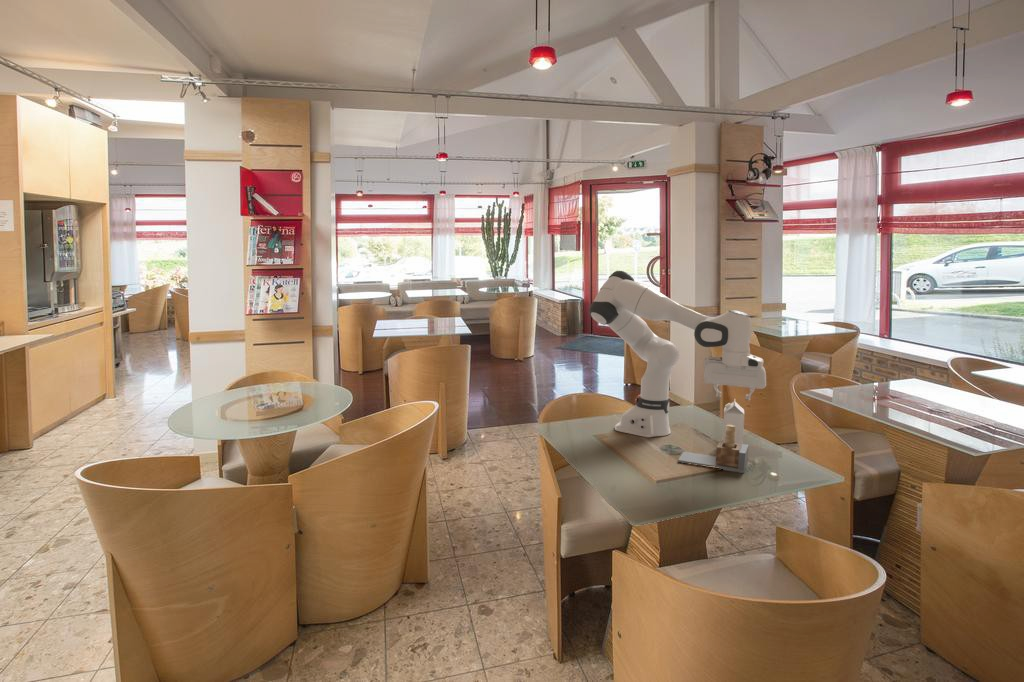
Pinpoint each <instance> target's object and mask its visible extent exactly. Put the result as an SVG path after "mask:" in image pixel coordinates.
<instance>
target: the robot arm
mask: <svg viewBox="0 0 1024 682" xmlns="http://www.w3.org/2000/svg"><path fill="white" fill-rule="evenodd" d="M599 288H600V289H599V291H598V292H597V294H596V295H595V298H594V300H593V301H592V302H591V304H590V307H589V309H588V313H589V316H590V318H592V319H593V320H594V321H595V322H596V323H599V324H600V325H603V326H608V328H610V329H611V330H612V331H613V332H614V333H615V334H616V335H617V336H618V337H620V338H621V339H622V340H623V341H624V342H625V343H626V344H627V345H628V346H629V347H630V348H631V350H633V352H634V353H635V354H636V355H637V356H638V357H639V358H640V359H641V360H642V361H644V362H646V363H647V364H646V369H645V372H644V374H643V375H642V376H641V380H640V394H638V395H636V398H635V399H634V403H635V405H633V406H632V407H630V408H629V409H627V410H626V411H624V412H623V414H622V415H621V418H620V421H619V422H617V423H616V424H615V425H614V430H615V431H617V432H621V433H626V434H629V435H635V436H640V437H643V438H653V437H664V436H669V435H670V434H671V433H672V430H671V427H670V422H669V412H670V398H669V391H670V390H669V388H670V379H671V375H672V372H673V369H674V366H676V364H677V363H678V362H679V359H680V351H679V348H678V347H677V346H676V345H675V344H674V343H673V342H672V341H670V340H667V339H665V338H662V337H660V336H658V335H657V334H655V333H654V332H653V330H651V328H650V327H649V326H648V324H647V322H646V321H645V320H649V321H654V322H655V321H656V322H657V321H659V322H660V321H661V322H662V321H670V322H676V323H677V324H680V325H681V326H685V327H687V328H689V329H691V330H694V332H693V335H694V339H695V341H696V342H697V344H699V345H700V346H702V347H704V348H709V349H710V348H718V347H722V351H721V356H708V357H705V358H704V360H703V368H704V371H703V377H702V381H703V382H704V384H712V385H713V389H714V391H715V392H716V393H715V396H716V398H722V391H720V390H719V388H718V387H719V385H720V386H731V387H739V388H749V389H748V391H749V393H747V394H745V399H744V400H745V401H751V395H752V394H754V392H755V389H758V390H759V389H760V390H763V389H765V388H766V387H767V372H766V369H765V367H764V362H765V360H764V358H762V357H759V356H758V355H757V356H756V355H753V354H752V353H751V348H750V342H751V340H752V318H751V316H750V315H749V314H748V313H746V312H745V311H740V310H734V309H733V310H732V309H730V310H727V311H726V312H724V313H722V314H720V315H707V314H704V313H703V314H702V313H701V312H698V311H696V310H694V309H691V308H689V307H686V306H684V305H682V304H680V303H678V302H676V301H675V300H673V299H671V298H670V297H668V296H666V295H665V294H663V293H662V292H660V291H658V290H657V289H656V288H653V287H650V286H648V285H646V284H643V283H641V282H638V281H635V279H634V278H633V276H632V275H631V274H630V273H628V272H626V271H623V270H615V271H614V272H612V273H611V274H610V275H609V276H608V279H607V280H606V281H605V282H604V283H603V284H602V286H601V287H599ZM644 319H645V320H644Z"/></svg>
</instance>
